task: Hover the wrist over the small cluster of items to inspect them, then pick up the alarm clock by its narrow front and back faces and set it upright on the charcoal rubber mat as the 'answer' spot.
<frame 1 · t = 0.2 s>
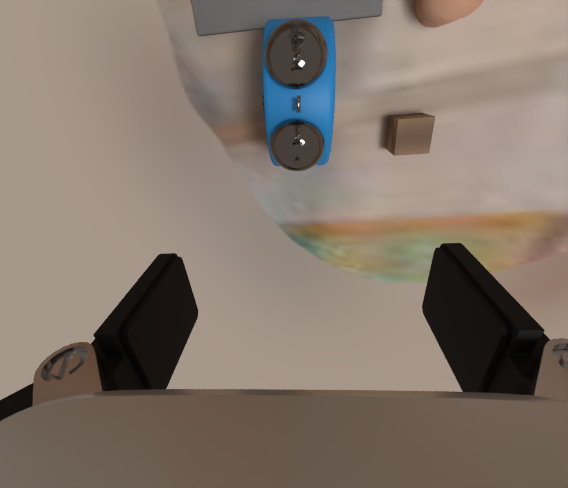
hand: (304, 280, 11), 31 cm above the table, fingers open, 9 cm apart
alarm clock: (299, 95, 35), on the table
walnut block: (403, 131, 36), on the table
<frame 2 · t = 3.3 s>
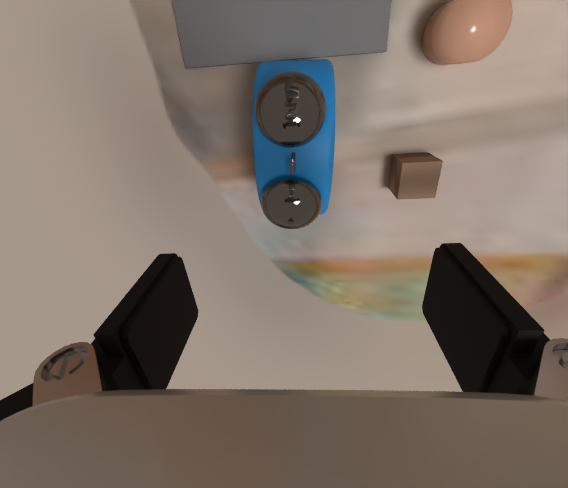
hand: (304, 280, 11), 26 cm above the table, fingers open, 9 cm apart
tan egg shape: (449, 34, 27), on the table
alarm clock: (295, 131, 32), on the table
walnut block: (407, 170, 34), on the table
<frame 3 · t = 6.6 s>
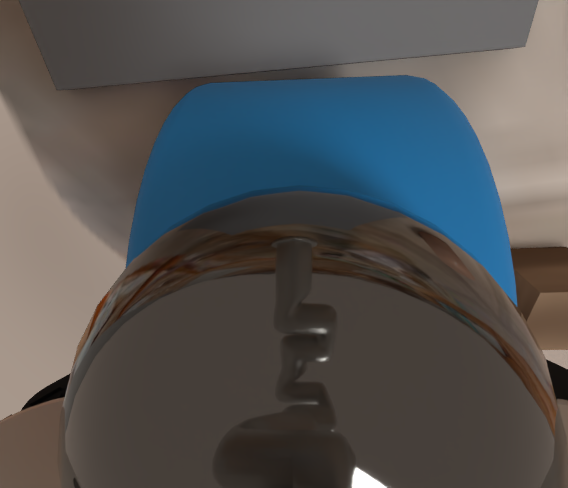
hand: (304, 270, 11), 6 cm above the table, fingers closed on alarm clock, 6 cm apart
alarm clock: (303, 209, 16), on the table, touching gripper
walnut block: (516, 274, 18), on the table
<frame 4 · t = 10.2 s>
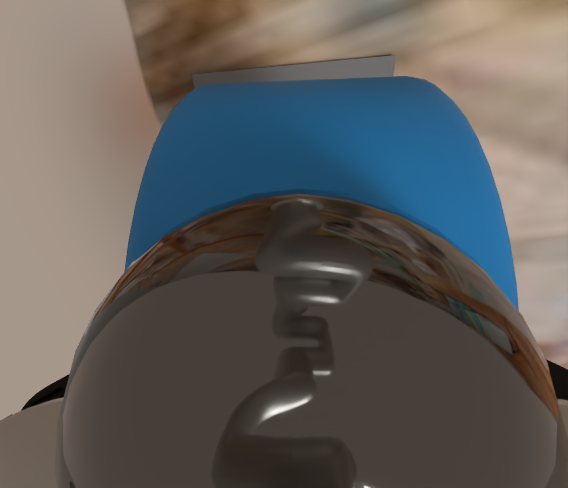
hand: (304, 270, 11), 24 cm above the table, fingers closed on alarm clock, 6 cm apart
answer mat: (294, 147, 32), on the table
alarm clock: (303, 210, 16), point 18 cm above the table, touching gripper
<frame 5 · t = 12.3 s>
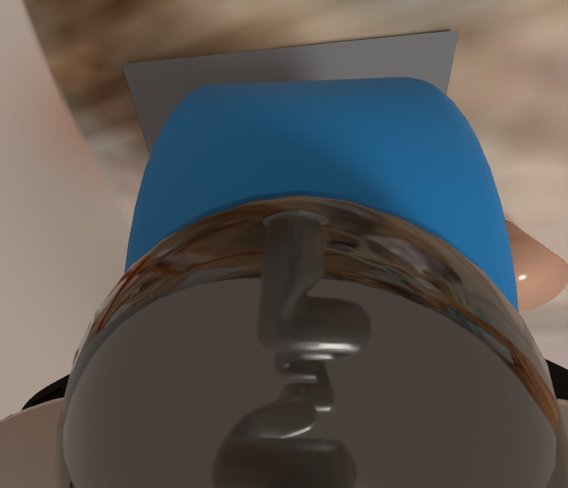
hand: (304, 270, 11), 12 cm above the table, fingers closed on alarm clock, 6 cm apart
tan egg shape: (486, 246, 24), on the table
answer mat: (290, 176, 22), on the table
alarm clock: (303, 210, 16), point 6 cm above the table, touching gripper
when the fingers open (7 cm above the table, at t = 13.8 s): alarm clock drops 1 cm, resting on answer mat.
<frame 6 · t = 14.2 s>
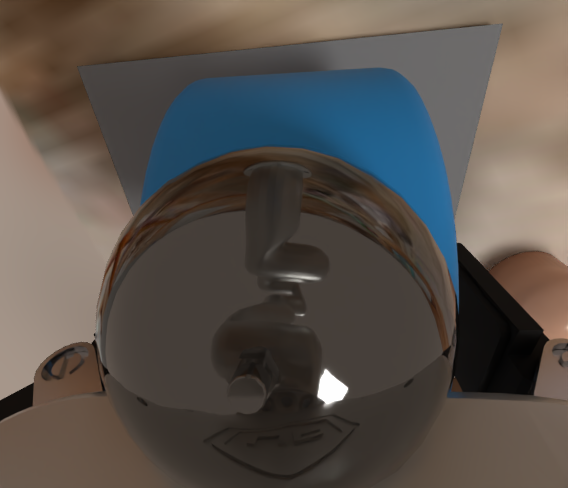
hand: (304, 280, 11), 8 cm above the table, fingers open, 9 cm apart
tan egg shape: (519, 281, 20), on the table
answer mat: (288, 200, 18), on the table
alarm clock: (298, 200, 17), point 1 cm above the table, touching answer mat
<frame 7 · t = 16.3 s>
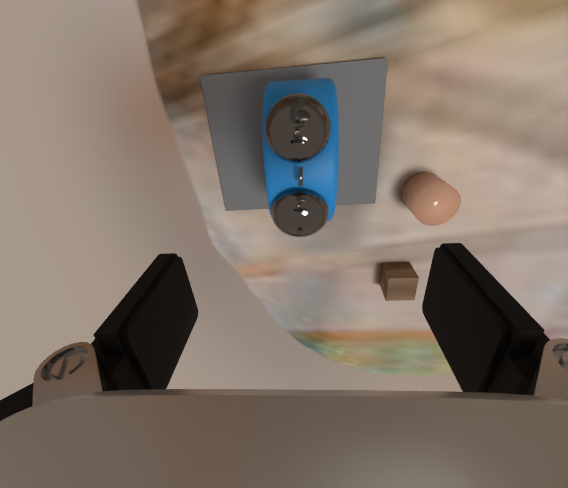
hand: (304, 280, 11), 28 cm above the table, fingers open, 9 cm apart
tan egg shape: (421, 191, 37), on the table
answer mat: (295, 143, 35), on the table
alarm clock: (300, 142, 34), point 1 cm above the table, touching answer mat
walnut block: (394, 272, 44), on the table
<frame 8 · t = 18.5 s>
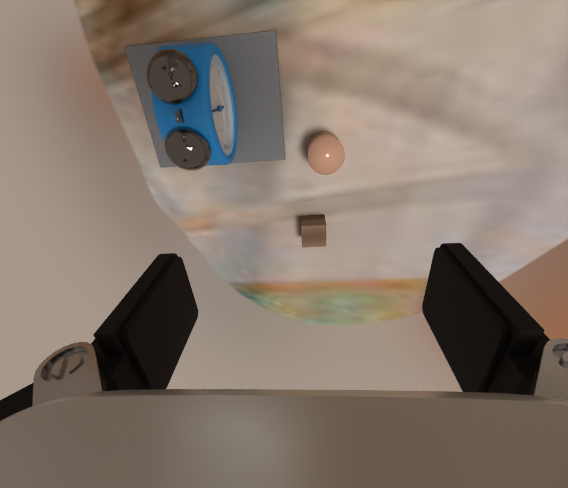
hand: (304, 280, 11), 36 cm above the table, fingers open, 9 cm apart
tan egg shape: (323, 148, 43), on the table
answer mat: (212, 106, 41), on the table
alarm clock: (215, 105, 40), point 1 cm above the table, touching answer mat
walnut block: (313, 225, 50), on the table
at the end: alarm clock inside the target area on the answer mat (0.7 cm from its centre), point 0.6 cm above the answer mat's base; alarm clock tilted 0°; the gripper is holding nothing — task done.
